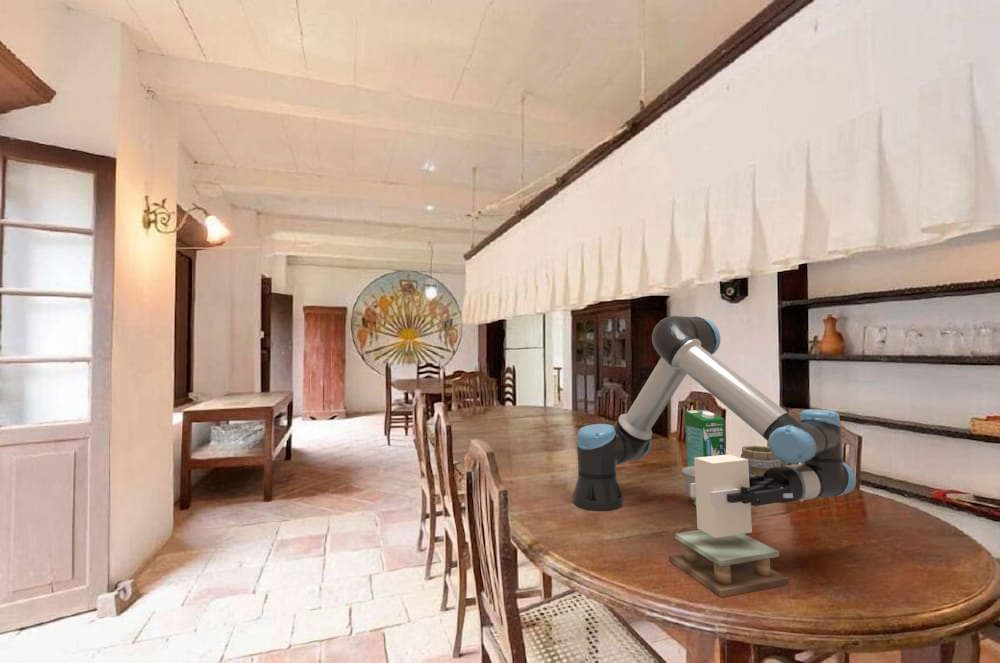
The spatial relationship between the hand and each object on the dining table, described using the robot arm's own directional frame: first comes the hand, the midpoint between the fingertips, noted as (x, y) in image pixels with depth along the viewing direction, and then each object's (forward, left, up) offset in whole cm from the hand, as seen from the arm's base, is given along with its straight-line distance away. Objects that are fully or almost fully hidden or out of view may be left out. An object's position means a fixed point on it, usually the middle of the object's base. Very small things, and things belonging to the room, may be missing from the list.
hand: (701, 494), depth 95 cm
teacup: (-35, +30, -17) cm, 49 cm away
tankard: (-40, +58, -17) cm, 73 cm away
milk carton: (-54, +45, -17) cm, 72 cm away
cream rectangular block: (0, +5, -8) cm, 10 cm away
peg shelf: (0, +5, -17) cm, 17 cm away
